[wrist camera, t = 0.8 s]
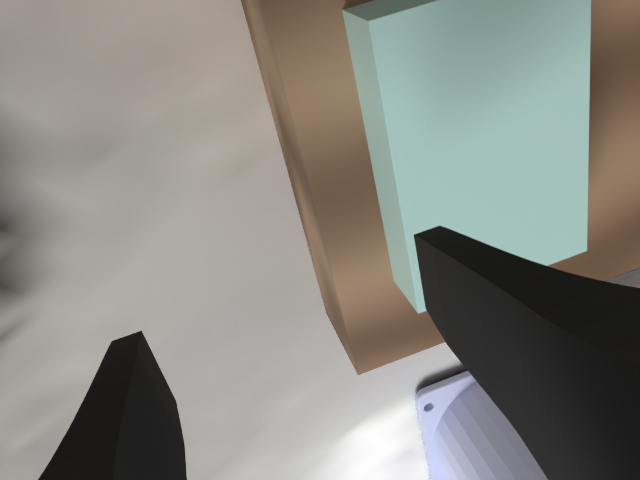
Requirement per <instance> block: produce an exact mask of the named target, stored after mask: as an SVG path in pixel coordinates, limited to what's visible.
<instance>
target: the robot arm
mask: <svg viewBox="0 0 640 480" xmlns="http://www.w3.org/2000/svg"><path fill="white" fill-rule="evenodd" d="M414 240H415V246H416V252H417V258H418V265H419V271H420V277H421V283H422V289H423V296H424V302H425V308H426V310H427V312H428V314H429V315H430V317H431V319H432V320H433V322H434V324H435V326H436V327H437V329H438V331H439V332H440V334H441V335H442V337H443V339H444V340H445V342H446V343H447V345H448V346H449V347H450V349H451V350H452V351H453V353H454V354H455V355H456V356H457V358H458V359H459V360H460V361H461V363H462V364H463V365H464V366H465V368H466V369H467V370H468V371H465V372H463V373H460V374H458V375H455V376H453V377H450V378H447V379H445V380H442V381H440V382H437V383H435V384H432V385H429V386H427V387H424V388H422V389H420V390H419V391H418V392H417V393H416V395H415V402H416V407H417V412H418V417H419V423H420V428H421V433H422V438H423V443H424V449H425V454H426V459H427V464H428V469H429V474H430V480H640V288H635V287H629V286H624V285H619V284H614V283H609V282H605V281H601V280H596V279H592V278H588V277H584V276H580V275H576V274H572V273H569V272H565V271H562V270H558V269H555V268H552V267H549V266H546V265H543V264H539V263H536V262H533V261H531V260H528V259H525V258H522V257H519V256H516V255H514V254H511V253H508V252H506V251H503V250H501V249H498V248H495V247H493V246H490V245H488V244H485V243H483V242H480V241H478V240H476V239H473V238H471V237H468V236H466V235H463V234H461V233H458V232H456V231H453V230H451V229H448V228H445V227H443V226H437V227H434V228H431V229H428V230H426V231H423V232H420V233H417V234H414ZM427 404H428V405H427ZM425 405H426V406H425ZM38 480H187V478H186V462H185V447H184V440H183V435H182V429H181V424H180V419H179V414H178V409H177V404H176V400H175V398H174V396H173V394H172V392H171V390H170V388H169V386H168V384H167V382H166V380H165V378H164V376H163V374H162V372H161V370H160V368H159V366H158V364H157V362H156V360H155V357H154V355H153V353H152V351H151V349H150V347H149V345H148V343H147V341H146V339H145V337H144V335H143V333H142V331H140V332H137V333H134V334H131V335H128V336H125V337H123V338H120V339H117V340H114V341H112V342H111V344H110V346H109V348H108V350H107V352H106V354H105V356H104V358H103V360H102V362H101V365H100V367H99V369H98V371H97V373H96V375H95V377H94V380H93V382H92V384H91V386H90V388H89V390H88V392H87V394H86V396H85V398H84V400H83V402H82V404H81V406H80V408H79V410H78V412H77V414H76V416H75V418H74V420H73V422H72V424H71V426H70V427H69V429H68V431H67V433H66V435H65V436H64V438H63V440H62V441H61V443H60V445H59V447H58V448H57V450H56V452H55V454H54V455H53V457H52V459H51V461H50V462H49V464H48V465H47V467H46V469H45V470H44V472H43V473H42V475H41V476H40V478H39V479H38Z"/></svg>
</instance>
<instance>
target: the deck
mask: <svg viewBox="0 0 640 480" xmlns="http://www.w3.org/2000/svg"><path fill="white" fill-rule="evenodd" d="M241 1H242V5H243V9H244V12H245V16H246V20H247V23H248V27H249V31H250V34H251V38H252V42H253V45H254V49H255V53H256V56H257V60H258V64H259V67H260V71H261V75H262V78H263V82H264V86H265V89H266V93H267V97H268V100H269V104H270V108H271V111H272V115H273V119H274V122H275V126H276V130H277V133H278V137H279V141H280V144H281V148H282V152H283V155H284V159H285V163H286V166H287V170H288V174H289V177H290V181H291V185H292V188H293V192H294V196H295V199H296V203H297V207H298V210H299V214H300V218H301V221H302V225H303V229H304V232H305V236H306V240H307V243H308V247H309V251H310V254H311V258H312V262H313V265H314V269H315V272H316V276H317V280H318V283H319V287H320V291H321V294H322V298H323V302H324V305H325V309H326V313H327V315H328V317H329V319H330V321H331V323H332V325H333V327H334V329H335V331H336V333H337V335H338V337H339V339H340V341H341V343H342V345H343V347H344V348H345V350H346V352H347V354H348V356H349V358H350V360H351V362H352V364H353V366H354V368H355V370H356V372H357V374H358V375H360V374H362V373H365V372H367V371H370V370H373V369H375V368H378V367H381V366H383V365H386V364H388V363H391V362H394V361H396V360H399V359H402V358H404V357H407V356H409V355H412V354H415V353H417V352H420V351H422V350H425V349H428V348H430V347H433V346H436V345H438V344H441V343H443V342H445V340H444V339H443V337H442V335H441V334H440V332H439V331H438V329H437V327H436V326H435V324H434V322H433V320H432V319H431V317H430V315H429V314H428V312H427V311H424V312H422V313H419V314H418V313H417V311H416V310H415V309H414V307H413V306H412V305H411V303H410V302H409V301H408V299H407V298H406V297H405V295H404V294H403V293H402V291H401V290H400V288H399V287H398V286H397V284H396V283H395V282H394V279H393V274H392V268H391V263H390V258H389V253H388V247H387V242H386V237H385V232H384V226H383V221H382V216H381V211H380V206H379V200H378V195H377V190H376V185H375V179H374V174H373V169H372V164H371V158H370V153H369V148H368V143H367V137H366V132H365V127H364V122H363V117H362V111H361V106H360V101H359V96H358V90H357V85H356V80H355V75H354V69H353V64H352V59H351V54H350V48H349V43H348V38H347V33H346V28H345V22H344V17H343V12H342V10H343V9H347V8H350V7H353V6H357V5H360V4H364V3H367V2H370V1H374V0H241ZM548 266H549V267H552V268H555V269H558V270H562V271H565V272H569V273H572V274H576V275H580V276H584V277H588V278H592V279H596V280H601V281H606V280H609V279H611V278H614V277H617V276H619V275H622V274H624V273H627V272H630V271H632V270H635V269H638V268H640V0H591V40H590V100H589V161H588V221H587V251H586V252H583V253H580V254H578V255H575V256H572V257H569V258H567V259H564V260H561V261H559V262H556V263H553V264H551V265H548Z"/></svg>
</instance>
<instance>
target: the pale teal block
mask: <svg viewBox="0 0 640 480" xmlns="http://www.w3.org/2000/svg"><path fill="white" fill-rule="evenodd" d="M342 12H343V17H344V22H345V28H346V33H347V38H348V43H349V48H350V54H351V59H352V64H353V69H354V75H355V80H356V85H357V90H358V96H359V101H360V106H361V111H362V117H363V122H364V127H365V132H366V137H367V143H368V148H369V153H370V158H371V164H372V169H373V174H374V179H375V185H376V190H377V195H378V200H379V206H380V211H381V216H382V221H383V226H384V232H385V237H386V242H387V247H388V253H389V258H390V263H391V268H392V274H393V279H394V282H395V283H396V284H397V286H398V287H399V288H400V290H401V291H402V293H403V294H404V295H405V297H406V298H407V299H408V301H409V302H410V303H411V305H412V306H413V307H414V309H415V310H416V311H417V313H418V314H419V313H422V312H424V311H427V310H426V308H425V302H424V296H423V289H422V283H421V277H420V271H419V265H418V258H417V252H416V246H415V240H414V234H417V233H420V232H423V231H426V230H428V229H431V228H434V227H437V226H443V227H445V228H448V229H451V230H453V231H456V232H458V233H461V234H463V235H466V236H468V237H471V238H473V239H476V240H478V241H480V242H483V243H485V244H488V245H490V246H493V247H495V248H498V249H501V250H503V251H506V252H508V253H511V254H514V255H516V256H519V257H522V258H525V259H528V260H531V261H533V262H536V263H539V264H543V265H546V266H548V265H551V264H553V263H556V262H559V261H561V260H564V259H567V258H569V257H572V256H575V255H578V254H580V253H583V252H586V251H587V221H588V161H589V100H590V40H591V0H374V1H370V2H367V3H364V4H360V5H357V6H353V7H350V8H347V9H343V10H342Z"/></svg>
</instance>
